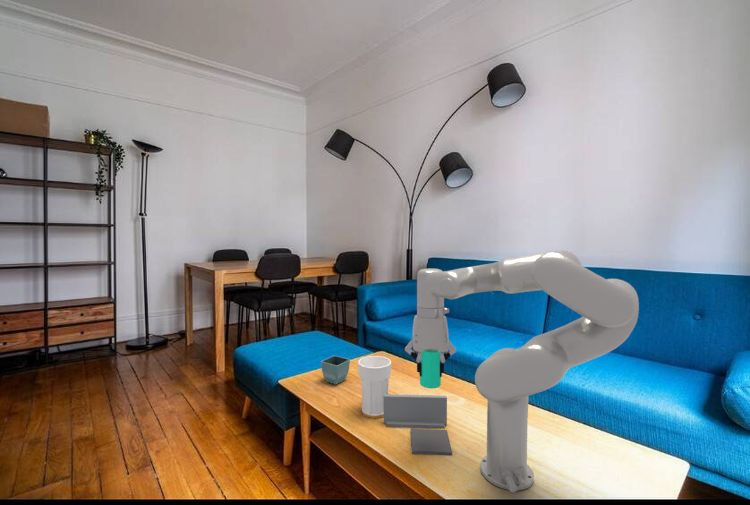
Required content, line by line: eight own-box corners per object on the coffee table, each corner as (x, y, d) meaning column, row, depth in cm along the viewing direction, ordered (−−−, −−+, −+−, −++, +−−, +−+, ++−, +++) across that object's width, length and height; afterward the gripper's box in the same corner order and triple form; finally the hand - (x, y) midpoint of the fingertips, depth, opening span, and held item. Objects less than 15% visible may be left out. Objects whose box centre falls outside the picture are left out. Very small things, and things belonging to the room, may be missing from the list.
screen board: (447, 428, 109) (447, 400, 108) (383, 426, 110) (383, 398, 110) (445, 420, 114) (445, 393, 113) (384, 418, 115) (383, 391, 115)
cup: (351, 411, 120) (351, 361, 119) (374, 400, 128) (373, 353, 127) (375, 424, 112) (375, 370, 111) (398, 410, 120) (398, 361, 119)
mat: (452, 455, 96) (452, 452, 96) (411, 453, 97) (411, 450, 97) (446, 432, 107) (446, 429, 107) (410, 431, 108) (410, 428, 108)
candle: (441, 380, 103) (441, 340, 103) (440, 389, 97) (440, 346, 97) (420, 378, 104) (420, 339, 104) (419, 387, 99) (418, 345, 98)
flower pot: (350, 380, 146) (350, 359, 145) (337, 388, 138) (337, 365, 138) (334, 375, 150) (334, 355, 150) (320, 383, 143) (320, 361, 142)
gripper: (458, 309, 103) (458, 370, 104) (400, 309, 104) (400, 369, 105) (463, 315, 95) (462, 380, 96) (400, 315, 97) (400, 379, 98)
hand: (430, 374), depth 101 cm, fingers closed on candle, 4 cm apart
